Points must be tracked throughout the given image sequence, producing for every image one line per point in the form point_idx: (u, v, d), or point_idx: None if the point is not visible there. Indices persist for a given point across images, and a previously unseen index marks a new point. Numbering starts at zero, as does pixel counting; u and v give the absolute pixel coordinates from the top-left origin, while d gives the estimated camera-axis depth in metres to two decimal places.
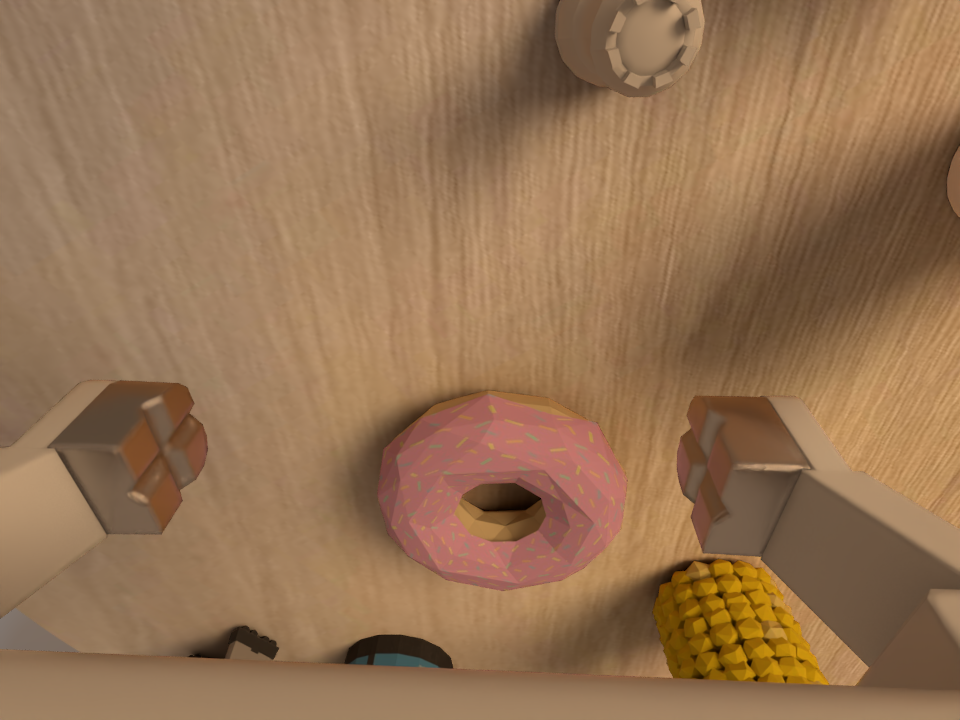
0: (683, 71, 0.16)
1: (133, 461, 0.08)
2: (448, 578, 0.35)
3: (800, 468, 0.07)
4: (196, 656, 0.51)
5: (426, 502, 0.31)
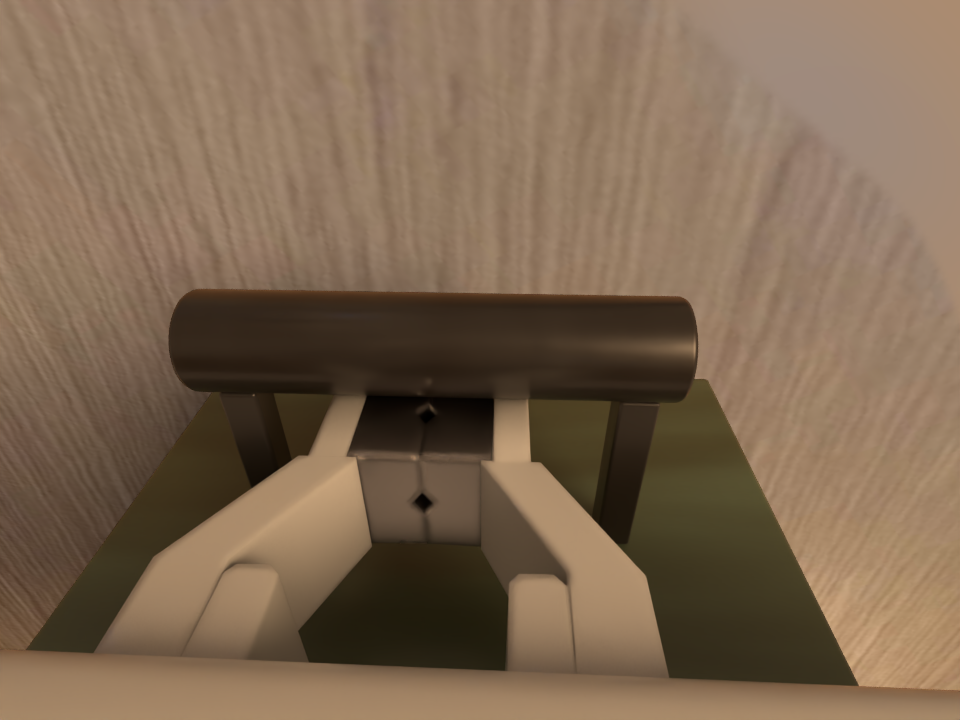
0: None
1: None
2: None
3: (483, 459, 0.07)
4: None
5: None
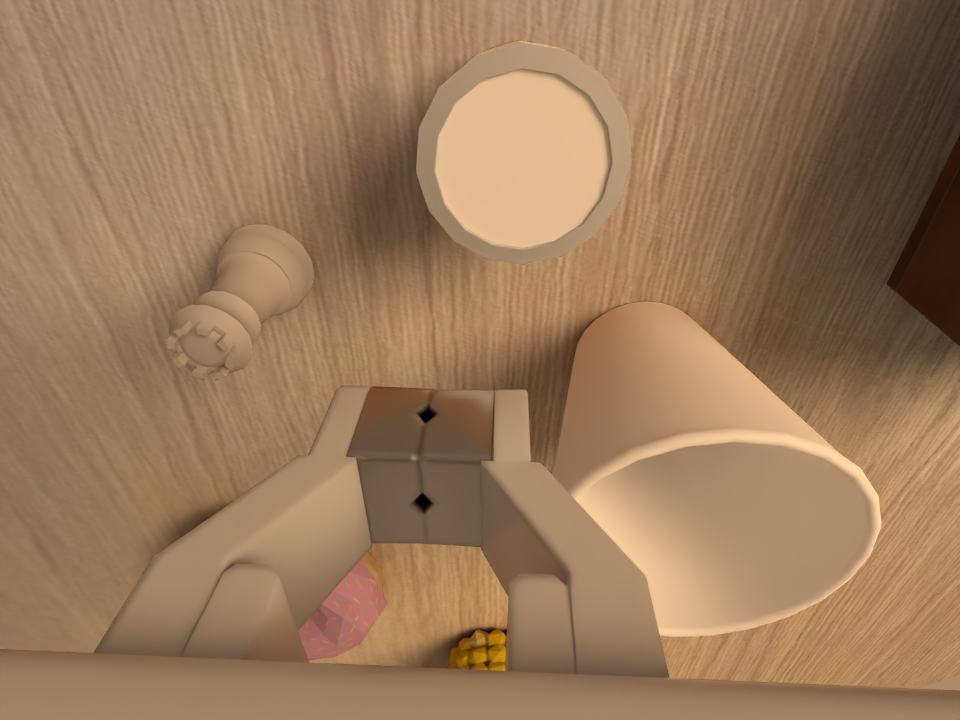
0: (243, 362, 0.22)
1: None
2: None
3: (483, 459, 0.07)
4: None
5: None
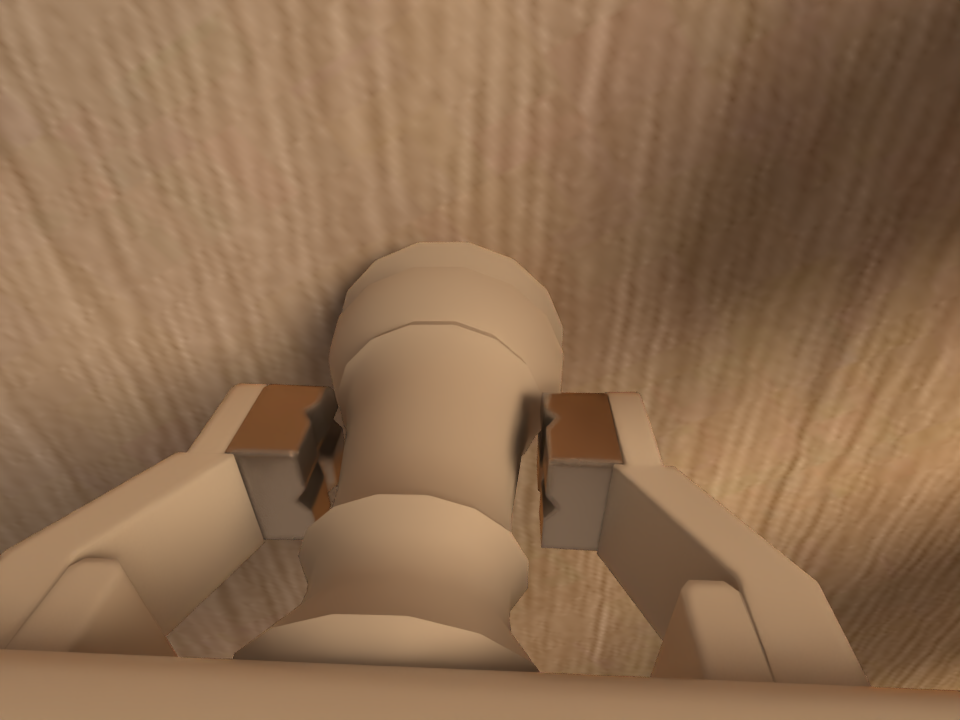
0: None
1: (305, 466, 0.07)
2: None
3: (614, 463, 0.07)
4: None
5: None
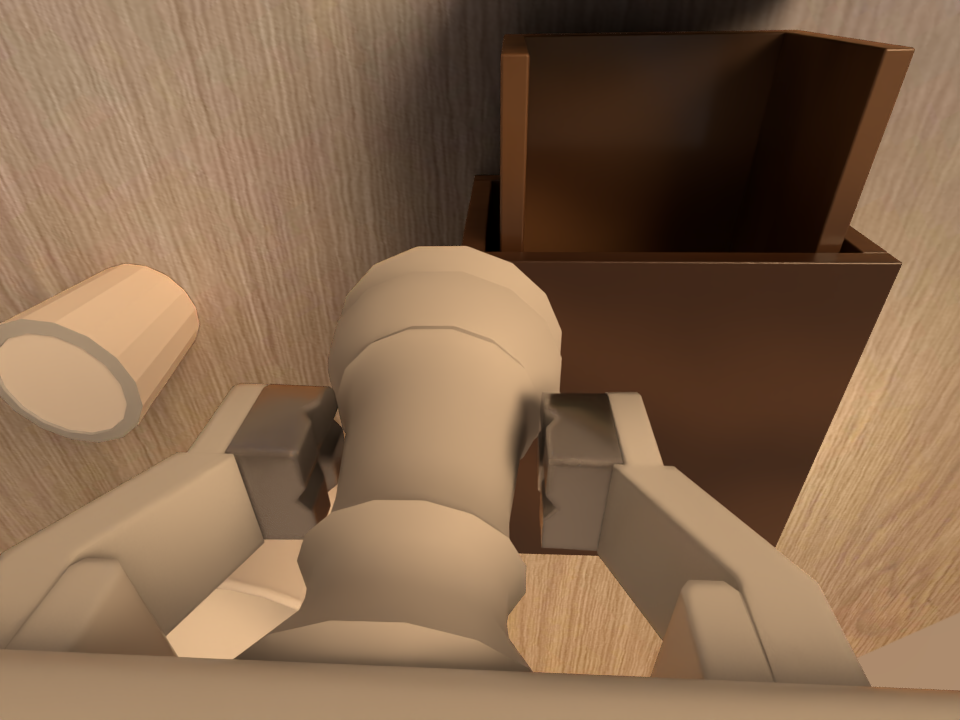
0: None
1: (304, 466, 0.07)
2: None
3: (614, 463, 0.07)
4: None
5: None
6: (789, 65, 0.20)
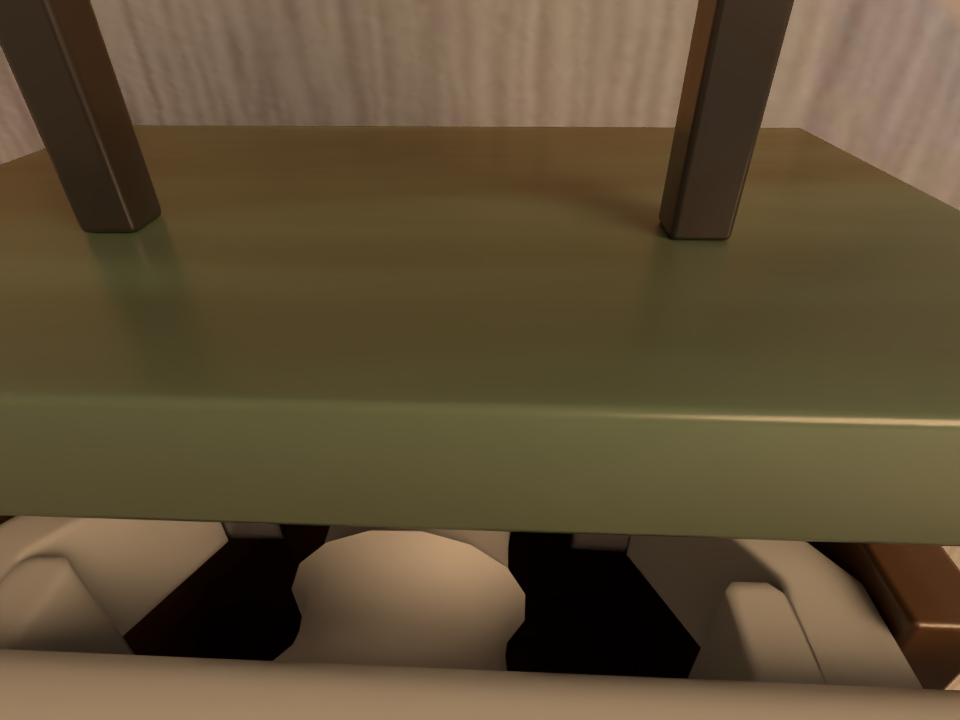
0: None
1: None
2: None
3: None
4: None
5: None
6: None
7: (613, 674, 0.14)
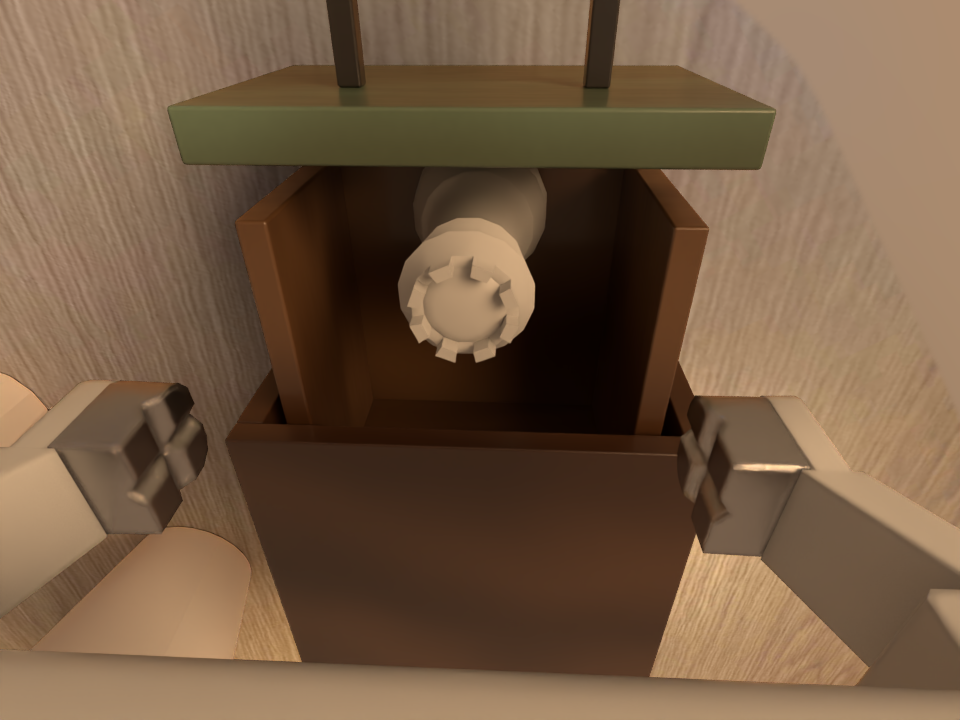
0: (515, 334, 0.13)
1: (133, 461, 0.08)
2: None
3: (800, 468, 0.07)
4: None
5: None
6: (627, 196, 0.17)
7: None
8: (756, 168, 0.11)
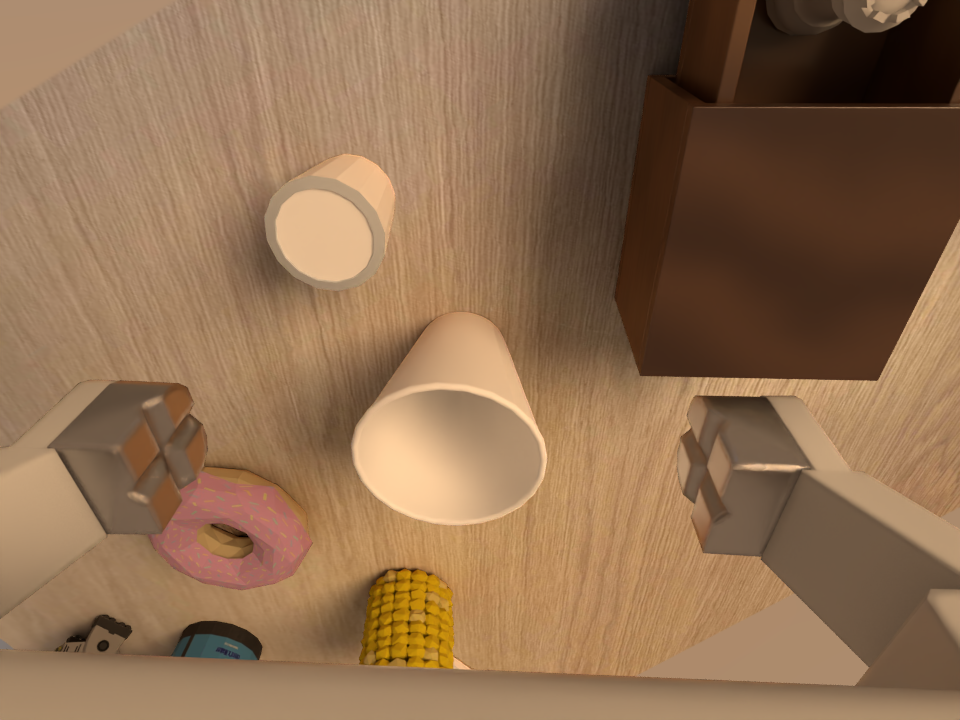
0: (912, 11, 0.22)
1: (133, 461, 0.08)
2: (203, 582, 0.55)
3: (800, 468, 0.07)
4: (75, 637, 0.71)
5: (168, 535, 0.51)
6: None
7: None
8: None
